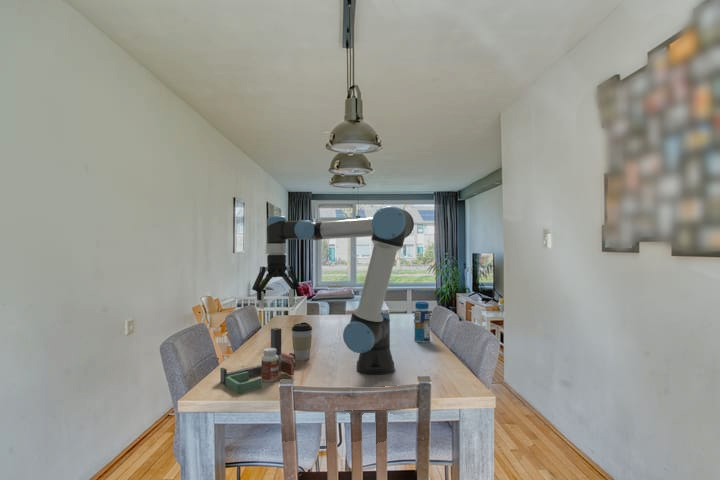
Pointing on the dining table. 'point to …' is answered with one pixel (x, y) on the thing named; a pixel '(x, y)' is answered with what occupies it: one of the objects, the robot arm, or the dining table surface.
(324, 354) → the dining table surface
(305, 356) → the coffee cup
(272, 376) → the pill bottle
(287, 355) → the kicker
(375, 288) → the robot arm
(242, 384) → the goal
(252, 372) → the rail
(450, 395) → the dining table surface
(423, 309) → the beverage bottle
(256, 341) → the dining table surface
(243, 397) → the dining table surface
